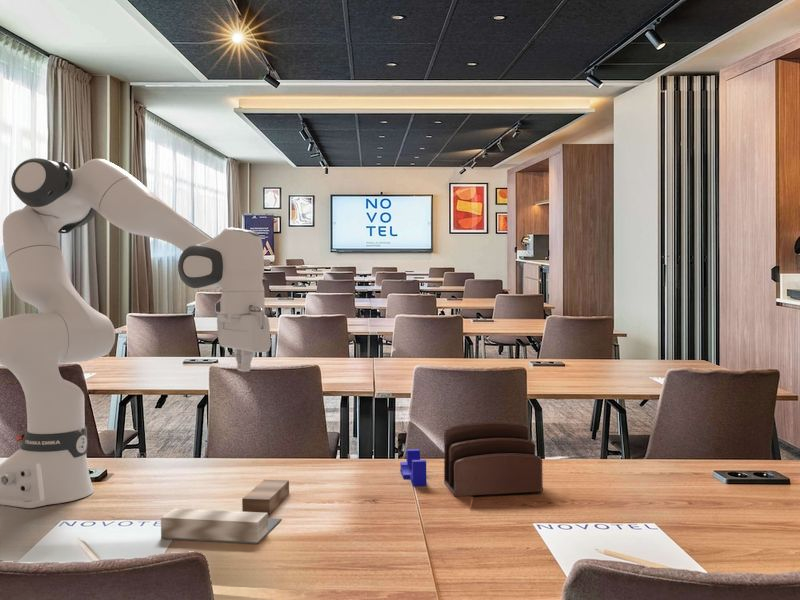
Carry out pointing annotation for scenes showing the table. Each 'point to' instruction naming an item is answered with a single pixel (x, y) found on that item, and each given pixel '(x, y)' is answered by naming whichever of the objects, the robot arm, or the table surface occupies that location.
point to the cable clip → (414, 468)
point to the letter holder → (491, 459)
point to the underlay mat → (271, 524)
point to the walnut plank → (265, 496)
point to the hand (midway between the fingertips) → (243, 371)
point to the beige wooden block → (214, 525)
